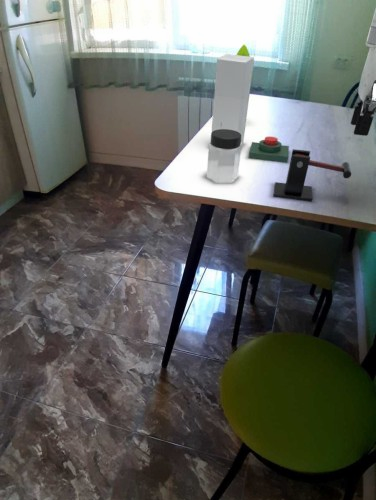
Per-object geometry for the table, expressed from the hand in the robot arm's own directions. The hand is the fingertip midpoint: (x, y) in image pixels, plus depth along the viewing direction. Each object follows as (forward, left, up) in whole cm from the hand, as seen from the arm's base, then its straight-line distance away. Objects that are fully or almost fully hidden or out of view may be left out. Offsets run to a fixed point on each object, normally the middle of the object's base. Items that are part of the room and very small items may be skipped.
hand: (358, 129), depth 98 cm
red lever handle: (+6, 0, -10) cm, 12 cm away
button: (+20, -27, -14) cm, 36 cm away
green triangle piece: (+34, -56, -18) cm, 68 cm away
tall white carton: (+34, -31, -18) cm, 49 cm away
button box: (+20, -27, -18) cm, 38 cm away
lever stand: (+12, 0, -18) cm, 21 cm away
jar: (+32, -5, -18) cm, 37 cm away
